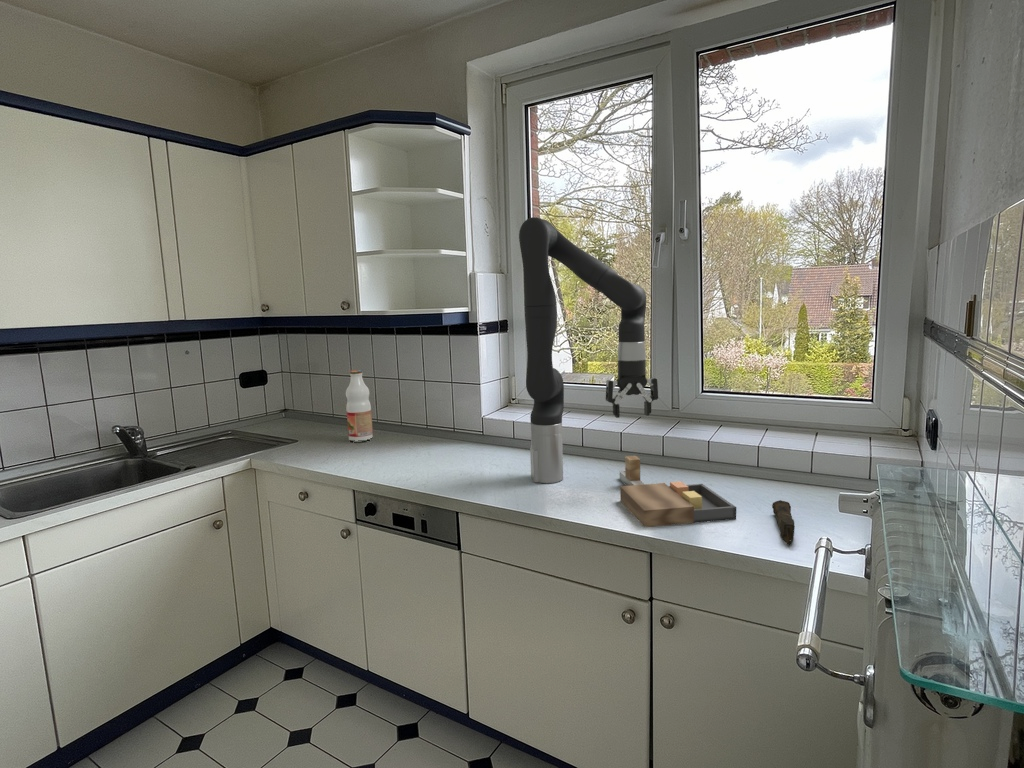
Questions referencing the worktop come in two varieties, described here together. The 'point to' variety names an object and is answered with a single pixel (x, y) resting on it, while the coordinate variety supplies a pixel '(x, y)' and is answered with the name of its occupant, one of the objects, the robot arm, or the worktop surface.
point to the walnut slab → (656, 505)
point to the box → (712, 505)
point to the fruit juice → (358, 408)
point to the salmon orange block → (679, 487)
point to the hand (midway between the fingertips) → (631, 416)
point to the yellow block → (693, 499)
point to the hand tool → (784, 520)
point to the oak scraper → (631, 471)
